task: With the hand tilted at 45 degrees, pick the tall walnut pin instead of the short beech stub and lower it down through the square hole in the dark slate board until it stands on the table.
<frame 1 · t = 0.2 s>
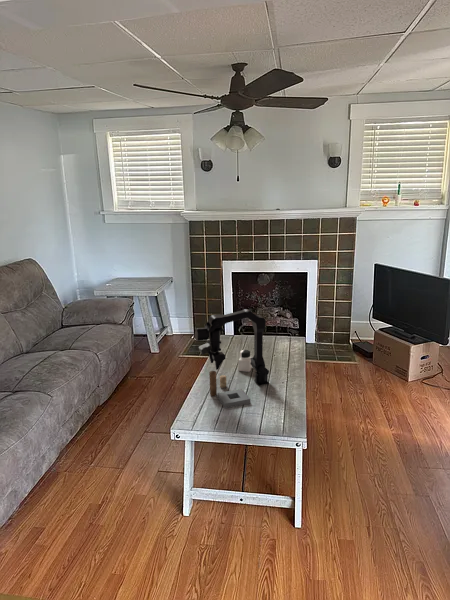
hand: (214, 366, 229), 15 cm above the table, tool pointing down, fingers open, 9 cm apart
short beech pin: (223, 386, 237), on the table
medicine bottle: (245, 369, 259), on the table
walnut pin: (213, 394, 228), on the table
slate hole plate: (233, 400, 222), on the table
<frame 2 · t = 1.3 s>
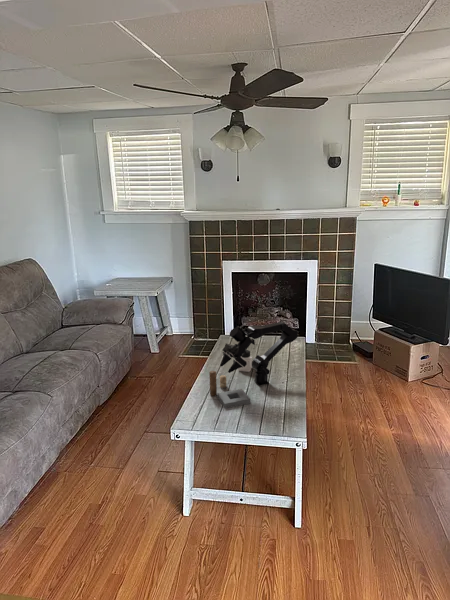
hand: (224, 369, 228), 13 cm above the table, tool tilted 45°, fingers open, 9 cm apart
nothing on the table moved.
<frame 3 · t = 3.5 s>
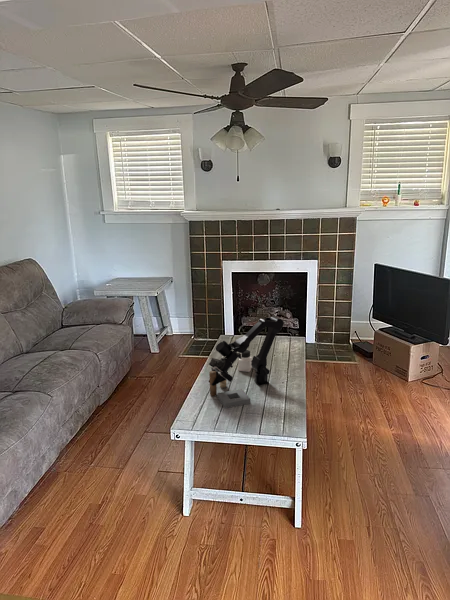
hand: (210, 383, 226), 7 cm above the table, tool tilted 45°, fingers closed on walnut pin, 4 cm apart
walnut pin: (213, 394, 228), on the table, touching gripper
everything else where it was.
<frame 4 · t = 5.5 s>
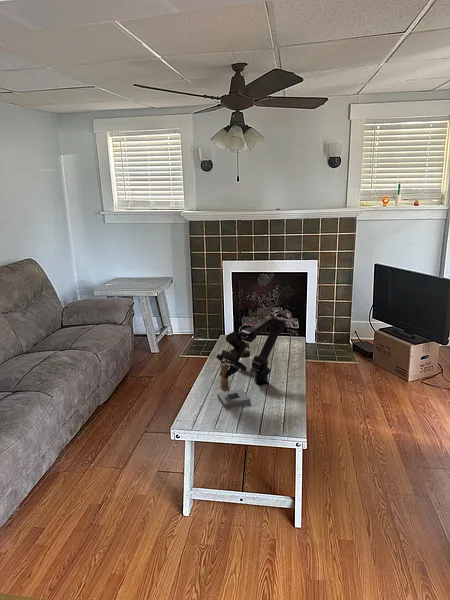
hand: (222, 376, 219), 13 cm above the table, tool tilted 45°, fingers closed on walnut pin, 4 cm apart
walnut pin: (225, 387, 222), point 6 cm above the table, touching gripper
everything else where it was.
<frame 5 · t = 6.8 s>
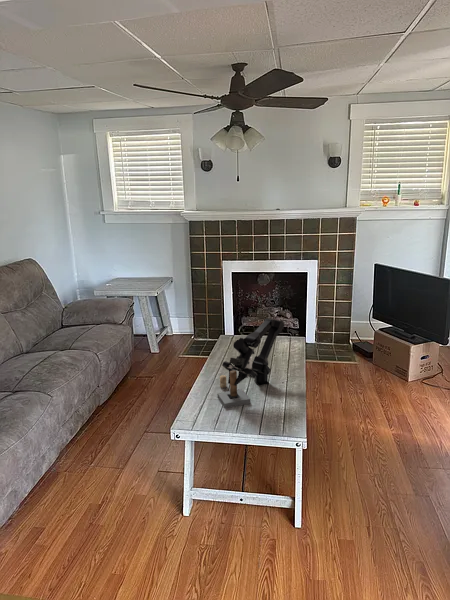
hand: (231, 384, 218), 10 cm above the table, tool tilted 45°, fingers closed on walnut pin, 4 cm apart
walnut pin: (233, 394, 221), point 3 cm above the table, touching gripper
everything else where it was.
when the fingers open (7 cm above the table, at t = 7.6 s): walnut pin stays where it is, resting in slate hole plate.
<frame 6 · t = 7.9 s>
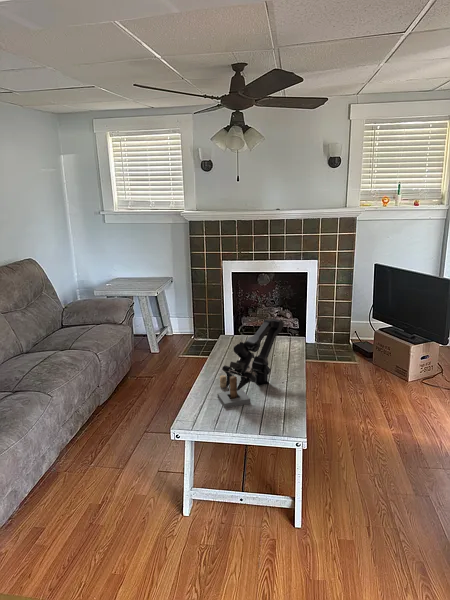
hand: (231, 388, 219), 7 cm above the table, tool tilted 45°, fingers open, 7 cm apart
walnut pin: (233, 400, 222), resting in slate hole plate
everything else where it was.
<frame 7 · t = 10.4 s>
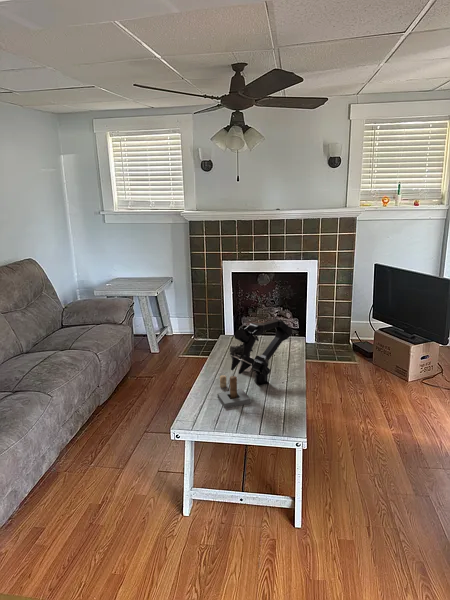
hand: (235, 372, 226), 13 cm above the table, tool tilted 35°, fingers open, 9 cm apart
nothing on the table moved.
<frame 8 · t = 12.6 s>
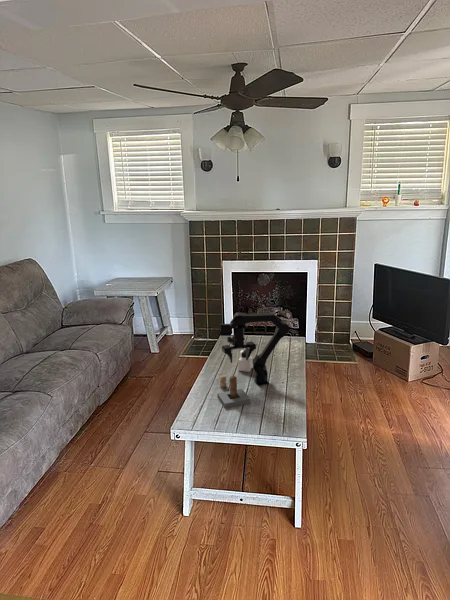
hand: (239, 361, 238), 13 cm above the table, tool pointing down, fingers open, 9 cm apart
nothing on the table moved.
at the end: walnut pin 0.0 cm off-centre on the slate hole plate, point 0.0 cm above the slate hole plate's base; walnut pin tilted 0°; the gripper is holding nothing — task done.
